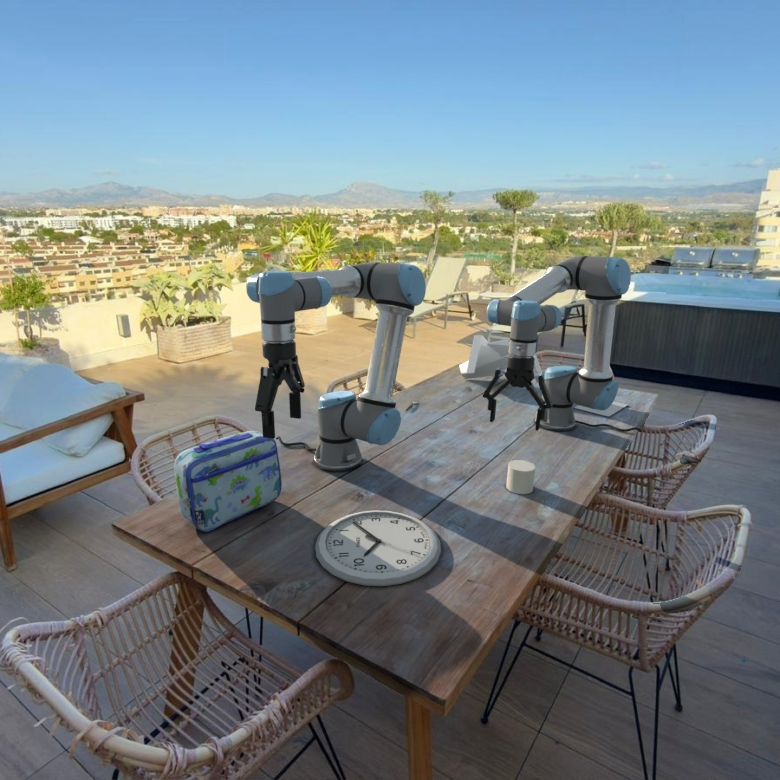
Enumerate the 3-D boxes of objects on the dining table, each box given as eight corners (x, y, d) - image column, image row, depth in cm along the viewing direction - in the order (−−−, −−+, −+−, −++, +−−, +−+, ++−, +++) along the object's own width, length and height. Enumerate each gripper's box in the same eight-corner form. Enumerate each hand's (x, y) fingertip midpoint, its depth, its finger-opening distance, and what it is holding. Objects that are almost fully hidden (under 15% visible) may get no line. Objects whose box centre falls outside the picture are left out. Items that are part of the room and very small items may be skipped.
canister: (522, 480, 159) (525, 458, 157) (538, 491, 152) (540, 469, 150) (501, 484, 156) (503, 461, 154) (516, 496, 150) (518, 473, 147)
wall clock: (452, 576, 112) (311, 582, 109) (452, 583, 112) (311, 589, 109) (430, 505, 140) (317, 508, 138) (430, 510, 141) (318, 514, 138)
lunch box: (194, 540, 125) (185, 461, 119) (175, 522, 133) (166, 447, 126) (286, 503, 143) (282, 432, 137) (265, 489, 150) (261, 421, 144)
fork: (403, 411, 216) (403, 406, 215) (414, 400, 230) (414, 395, 230) (409, 412, 215) (409, 407, 215) (420, 400, 229) (420, 396, 229)
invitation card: (608, 416, 214) (573, 407, 224) (608, 416, 214) (573, 408, 224) (628, 404, 229) (594, 396, 238) (628, 405, 229) (594, 397, 238)
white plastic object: (480, 421, 262) (459, 398, 238) (462, 347, 285) (440, 320, 260) (552, 397, 250) (537, 370, 226) (527, 322, 272) (511, 290, 248)
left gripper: (266, 353, 107) (271, 449, 113) (316, 331, 130) (318, 412, 136) (234, 350, 109) (241, 444, 115) (289, 329, 132) (292, 409, 138)
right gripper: (475, 352, 152) (470, 421, 158) (564, 363, 141) (554, 436, 147) (483, 347, 158) (478, 413, 165) (568, 358, 148) (559, 428, 154)
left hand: (283, 427), depth 126 cm, fingers open, 13 cm apart
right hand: (514, 425), depth 156 cm, fingers open, 13 cm apart
